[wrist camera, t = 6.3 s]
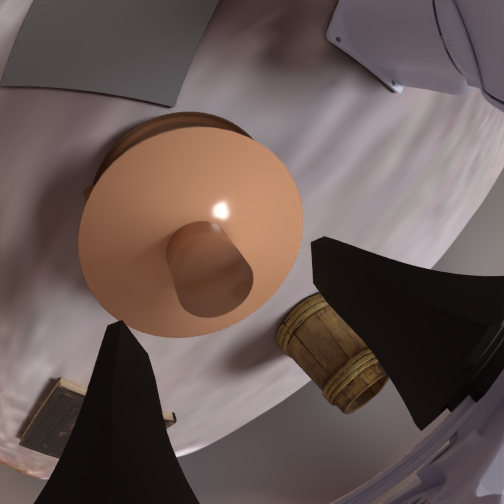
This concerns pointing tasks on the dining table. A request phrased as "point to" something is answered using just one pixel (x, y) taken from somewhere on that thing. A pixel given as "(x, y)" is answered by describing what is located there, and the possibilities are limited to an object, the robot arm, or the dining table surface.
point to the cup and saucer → (159, 126)
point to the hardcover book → (61, 419)
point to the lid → (190, 231)
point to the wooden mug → (331, 354)
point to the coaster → (109, 46)
